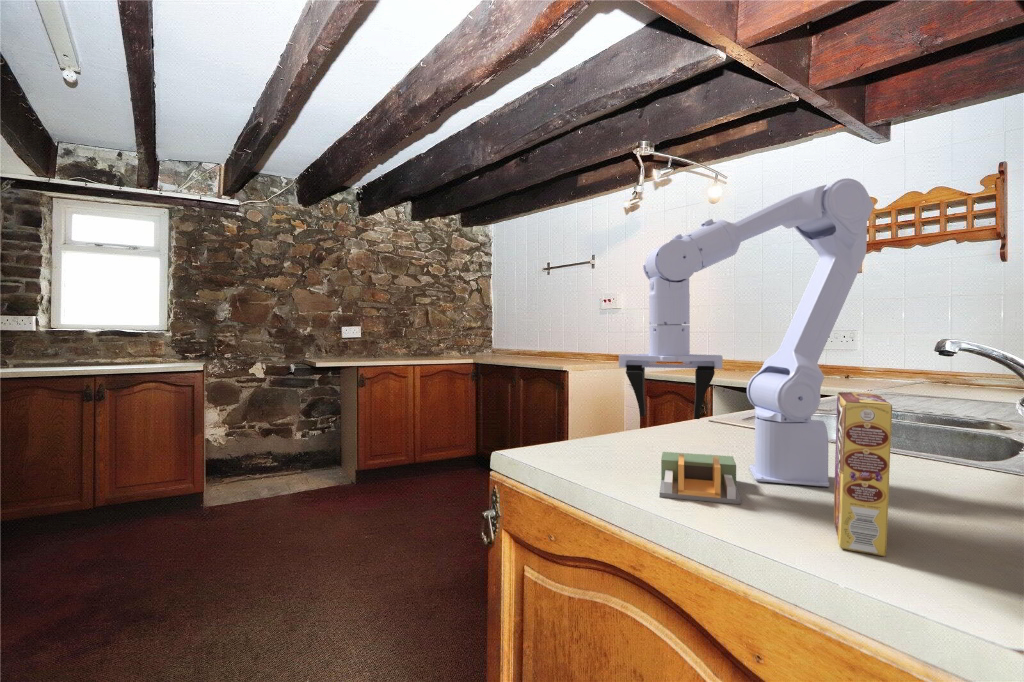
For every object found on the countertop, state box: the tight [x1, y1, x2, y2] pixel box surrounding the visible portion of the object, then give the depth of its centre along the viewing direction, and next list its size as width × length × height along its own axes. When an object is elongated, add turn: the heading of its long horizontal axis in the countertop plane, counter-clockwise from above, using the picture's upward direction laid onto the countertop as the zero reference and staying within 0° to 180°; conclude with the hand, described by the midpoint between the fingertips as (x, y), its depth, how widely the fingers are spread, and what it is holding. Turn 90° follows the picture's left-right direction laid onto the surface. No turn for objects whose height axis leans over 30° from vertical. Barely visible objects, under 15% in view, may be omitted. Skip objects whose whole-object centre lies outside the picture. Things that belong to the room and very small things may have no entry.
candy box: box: [833, 391, 893, 557], centre depth 55 cm, size 9×4×15 cm, turn 152°
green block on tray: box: [659, 451, 742, 505], centre depth 73 cm, size 10×11×4 cm
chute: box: [678, 454, 721, 498], centre depth 70 cm, size 5×6×4 cm
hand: (669, 416), depth 76 cm, fingers open, 7 cm apart
